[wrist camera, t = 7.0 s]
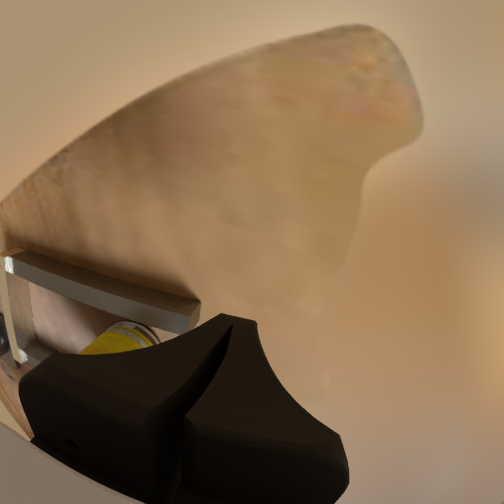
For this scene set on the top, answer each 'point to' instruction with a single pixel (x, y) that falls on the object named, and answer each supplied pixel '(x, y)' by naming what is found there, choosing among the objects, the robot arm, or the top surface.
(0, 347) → the winch post
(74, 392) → the robot arm
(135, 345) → the supplement bottle
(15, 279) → the bay
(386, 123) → the top surface
